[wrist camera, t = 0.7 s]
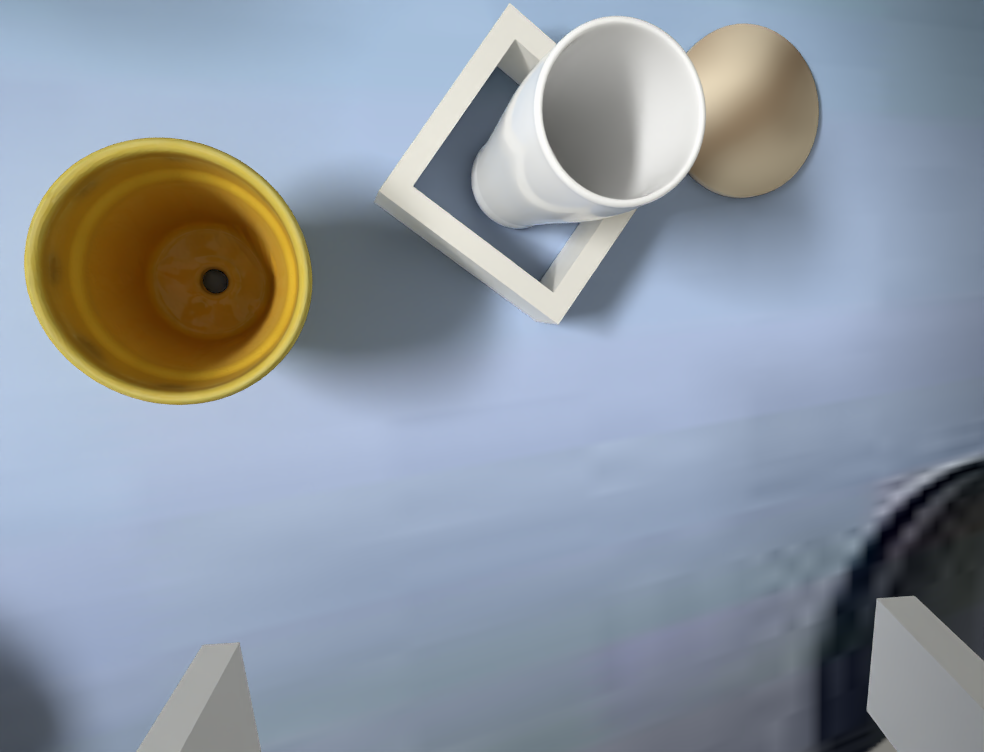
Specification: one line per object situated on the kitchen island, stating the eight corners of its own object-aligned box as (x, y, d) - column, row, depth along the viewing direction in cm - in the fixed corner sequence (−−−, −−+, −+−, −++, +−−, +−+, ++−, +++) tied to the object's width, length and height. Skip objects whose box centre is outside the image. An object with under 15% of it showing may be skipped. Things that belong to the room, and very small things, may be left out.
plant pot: (314, 183, 36) (307, 142, 27) (319, 375, 37) (315, 401, 28) (99, 175, 34) (8, 127, 24) (113, 381, 35) (31, 412, 25)
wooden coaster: (634, 127, 40) (639, 125, 39) (728, -9, 40) (733, -14, 40) (753, 230, 42) (759, 229, 42) (840, 101, 43) (847, 98, 42)
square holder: (373, 202, 37) (378, 190, 33) (491, 33, 37) (509, 3, 33) (536, 321, 40) (558, 324, 36) (643, 164, 40) (677, 149, 36)
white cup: (585, 221, 40) (730, 177, 25) (479, 258, 39) (567, 234, 24) (549, 105, 38) (681, -11, 24) (438, 141, 37) (506, 40, 23)
